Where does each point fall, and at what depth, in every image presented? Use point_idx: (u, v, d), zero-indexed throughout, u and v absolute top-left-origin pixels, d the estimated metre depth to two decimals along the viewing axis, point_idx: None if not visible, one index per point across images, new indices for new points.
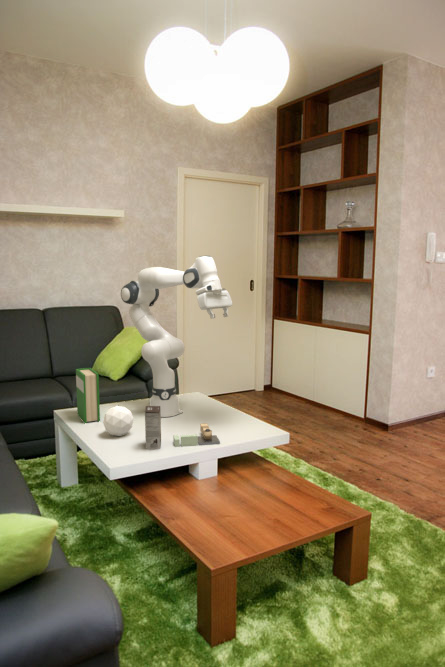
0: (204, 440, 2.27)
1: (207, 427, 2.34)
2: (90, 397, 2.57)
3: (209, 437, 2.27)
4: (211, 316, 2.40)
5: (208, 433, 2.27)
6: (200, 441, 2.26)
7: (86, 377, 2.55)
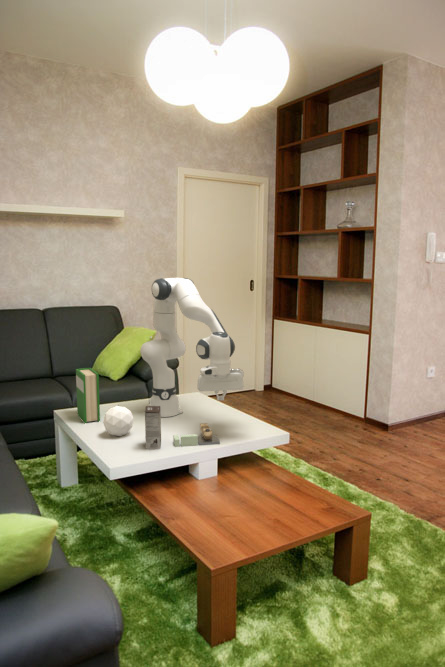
0: (204, 440, 2.27)
1: (207, 427, 2.34)
2: (90, 397, 2.57)
3: (209, 437, 2.27)
4: (217, 398, 2.32)
5: (208, 433, 2.27)
6: (200, 441, 2.26)
7: (86, 377, 2.55)
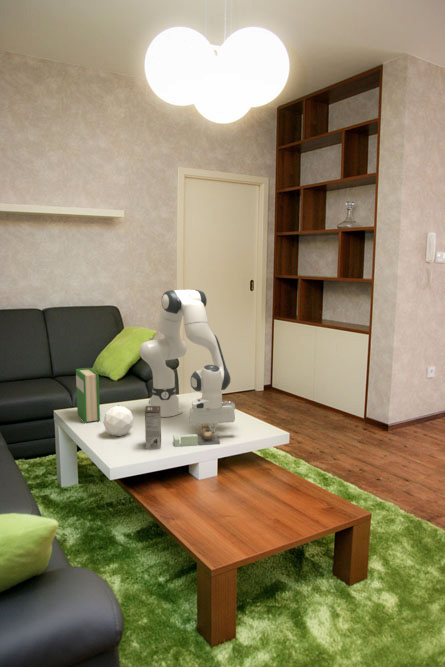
0: (204, 440, 2.27)
1: (207, 427, 2.34)
2: (90, 397, 2.57)
3: (209, 437, 2.27)
4: None
5: (208, 433, 2.27)
6: (200, 441, 2.26)
7: (86, 377, 2.55)
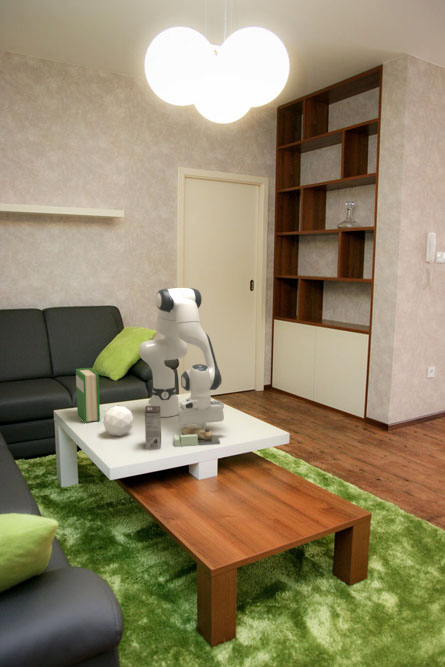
0: (204, 440, 2.27)
1: (197, 429, 2.32)
2: (90, 397, 2.57)
3: (211, 436, 2.29)
4: None
5: (211, 432, 2.28)
6: (200, 441, 2.26)
7: (86, 377, 2.55)
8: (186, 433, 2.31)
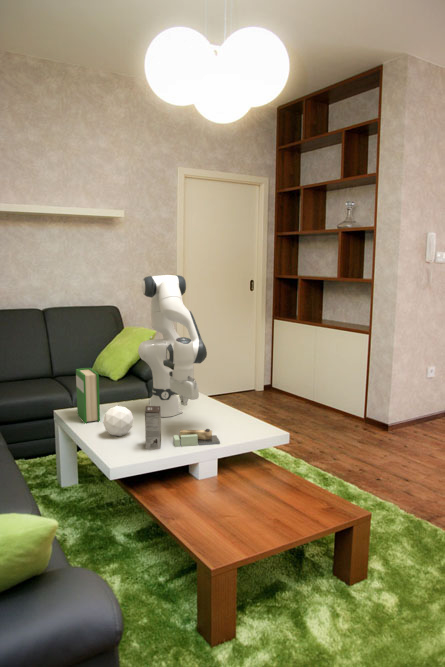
0: (204, 440, 2.27)
1: (195, 430, 2.29)
2: (90, 397, 2.57)
3: None
4: None
5: (211, 432, 2.29)
6: (200, 441, 2.26)
7: (86, 377, 2.55)
8: None
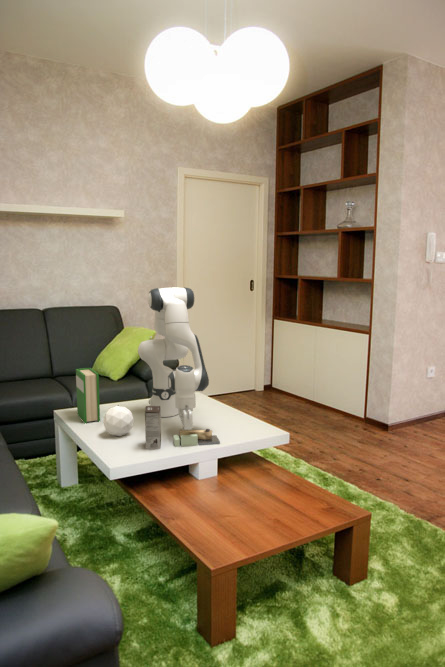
0: (204, 440, 2.27)
1: (195, 430, 2.29)
2: (90, 397, 2.57)
3: None
4: None
5: (211, 432, 2.29)
6: (200, 441, 2.26)
7: (86, 377, 2.55)
8: None
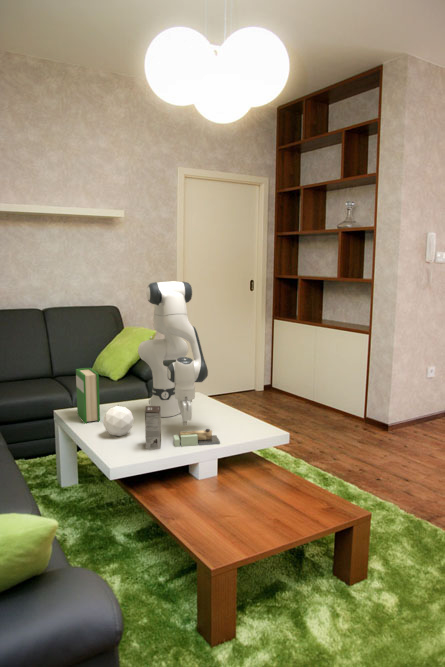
0: (204, 440, 2.27)
1: (195, 431, 2.28)
2: (90, 397, 2.57)
3: None
4: None
5: None
6: (200, 441, 2.26)
7: (86, 377, 2.55)
8: None
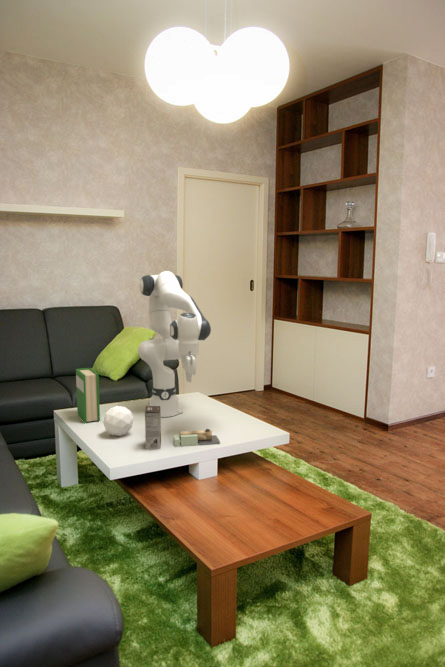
0: (204, 440, 2.27)
1: (195, 431, 2.28)
2: (90, 397, 2.57)
3: None
4: None
5: None
6: (200, 441, 2.26)
7: (86, 377, 2.55)
8: None
